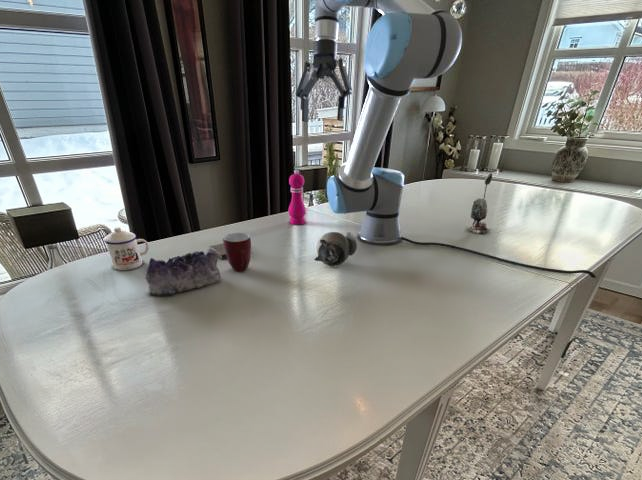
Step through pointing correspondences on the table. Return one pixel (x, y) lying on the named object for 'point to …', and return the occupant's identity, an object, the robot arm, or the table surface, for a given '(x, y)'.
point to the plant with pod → (480, 211)
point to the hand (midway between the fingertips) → (321, 121)
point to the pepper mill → (297, 199)
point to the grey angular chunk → (218, 250)
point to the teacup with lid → (124, 249)
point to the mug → (238, 250)
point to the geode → (182, 273)
